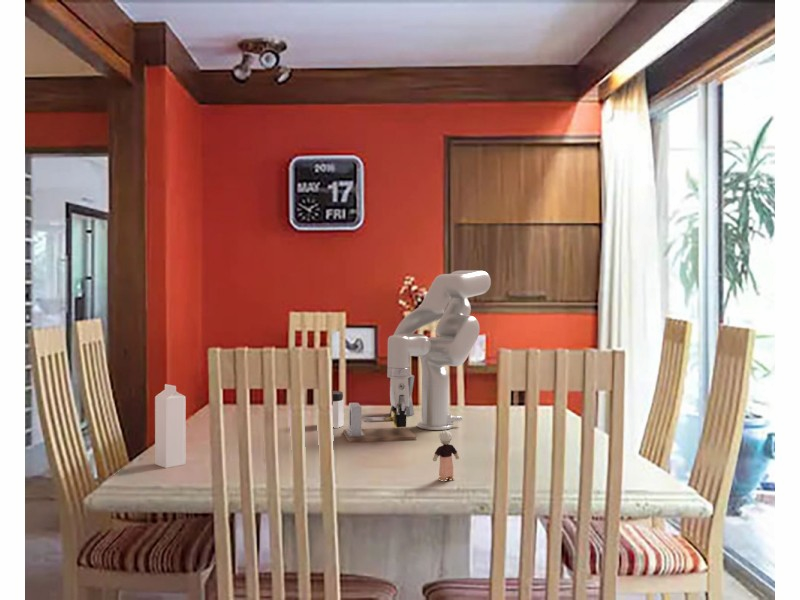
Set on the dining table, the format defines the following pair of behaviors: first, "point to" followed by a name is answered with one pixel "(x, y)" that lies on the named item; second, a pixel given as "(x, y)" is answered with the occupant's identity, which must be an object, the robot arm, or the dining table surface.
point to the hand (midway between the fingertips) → (398, 424)
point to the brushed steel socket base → (354, 421)
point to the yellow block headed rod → (384, 419)
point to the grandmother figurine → (445, 456)
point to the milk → (170, 428)
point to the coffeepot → (410, 409)
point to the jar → (338, 409)
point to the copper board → (382, 435)
